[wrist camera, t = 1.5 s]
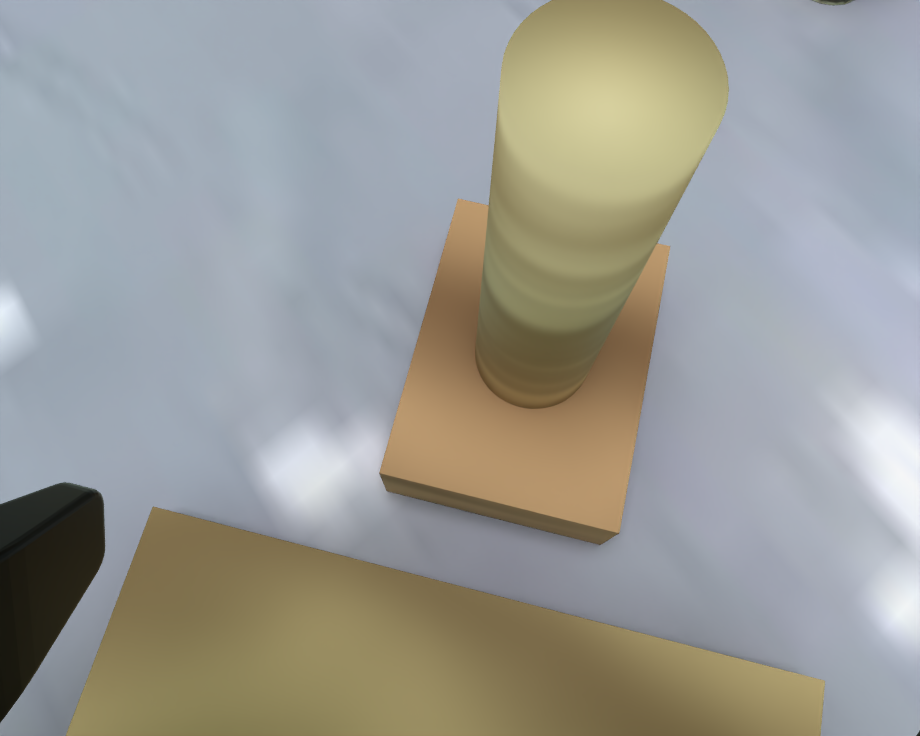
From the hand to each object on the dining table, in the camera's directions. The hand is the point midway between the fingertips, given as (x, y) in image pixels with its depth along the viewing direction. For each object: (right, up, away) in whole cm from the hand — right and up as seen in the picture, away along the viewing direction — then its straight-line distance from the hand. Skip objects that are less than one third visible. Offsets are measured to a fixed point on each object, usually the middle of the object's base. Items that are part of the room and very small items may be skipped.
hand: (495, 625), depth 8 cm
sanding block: (+1, +2, +14) cm, 14 cm away
